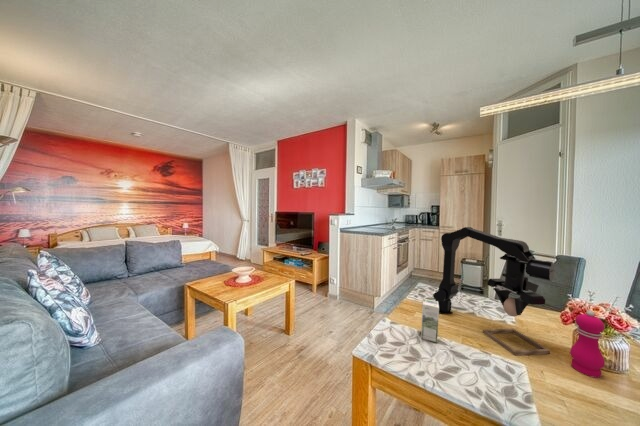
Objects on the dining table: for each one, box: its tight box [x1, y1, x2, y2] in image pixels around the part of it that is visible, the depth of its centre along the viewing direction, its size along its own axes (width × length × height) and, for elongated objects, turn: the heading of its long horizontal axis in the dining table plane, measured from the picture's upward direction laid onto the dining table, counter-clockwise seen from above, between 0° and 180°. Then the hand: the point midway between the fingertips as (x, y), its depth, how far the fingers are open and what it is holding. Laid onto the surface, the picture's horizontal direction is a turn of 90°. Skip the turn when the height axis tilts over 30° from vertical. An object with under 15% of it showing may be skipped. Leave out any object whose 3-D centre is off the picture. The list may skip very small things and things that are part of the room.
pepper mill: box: [569, 310, 606, 378], centre depth 72 cm, size 7×7×20 cm
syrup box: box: [420, 298, 440, 344], centre depth 88 cm, size 6×6×14 cm
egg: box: [502, 297, 519, 318], centre depth 88 cm, size 5×5×7 cm
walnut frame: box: [482, 328, 551, 357], centre depth 87 cm, size 14×14×1 cm
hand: (511, 311), depth 88 cm, fingers closed on egg, 5 cm apart
